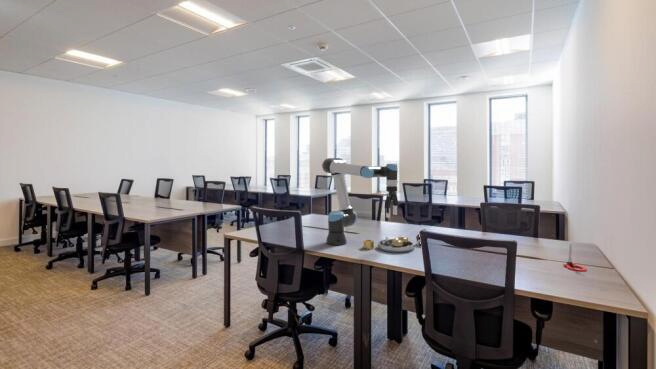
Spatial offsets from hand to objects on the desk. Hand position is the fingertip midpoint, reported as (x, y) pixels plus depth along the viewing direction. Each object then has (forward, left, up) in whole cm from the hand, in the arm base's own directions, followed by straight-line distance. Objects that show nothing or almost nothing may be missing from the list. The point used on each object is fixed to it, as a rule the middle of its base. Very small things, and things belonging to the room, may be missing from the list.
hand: (391, 216), depth 227 cm
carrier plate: (+3, -1, -22) cm, 22 cm away
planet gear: (-14, -9, -22) cm, 27 cm away
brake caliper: (+17, +18, -22) cm, 34 cm away
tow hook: (+103, +4, -22) cm, 106 cm away
